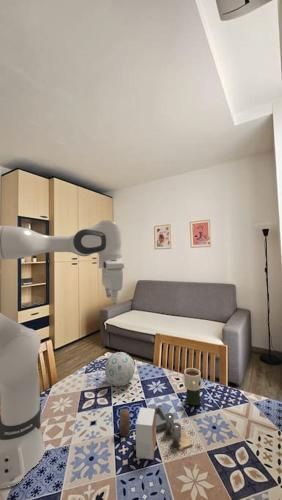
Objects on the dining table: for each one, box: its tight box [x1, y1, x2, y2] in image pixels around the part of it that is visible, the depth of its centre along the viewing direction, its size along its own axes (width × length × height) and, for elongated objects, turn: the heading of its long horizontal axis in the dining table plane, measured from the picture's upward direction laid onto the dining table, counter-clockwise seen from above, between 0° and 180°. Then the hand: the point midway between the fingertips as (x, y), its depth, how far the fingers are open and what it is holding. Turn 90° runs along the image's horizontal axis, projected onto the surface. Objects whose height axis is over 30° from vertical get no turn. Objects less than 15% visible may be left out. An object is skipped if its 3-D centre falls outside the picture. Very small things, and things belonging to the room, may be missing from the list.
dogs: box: [165, 412, 193, 451], centre depth 75 cm, size 6×10×6 cm, turn 20°
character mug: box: [183, 367, 202, 406], centre depth 93 cm, size 11×7×13 cm, turn 173°
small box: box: [134, 406, 157, 461], centre depth 71 cm, size 8×6×10 cm
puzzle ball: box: [104, 351, 136, 387], centre depth 108 cm, size 15×15×15 cm
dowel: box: [119, 408, 131, 437], centre depth 78 cm, size 4×4×7 cm
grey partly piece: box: [150, 404, 167, 434], centre depth 82 cm, size 9×9×2 cm
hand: (111, 299), depth 81 cm, fingers open, 8 cm apart
